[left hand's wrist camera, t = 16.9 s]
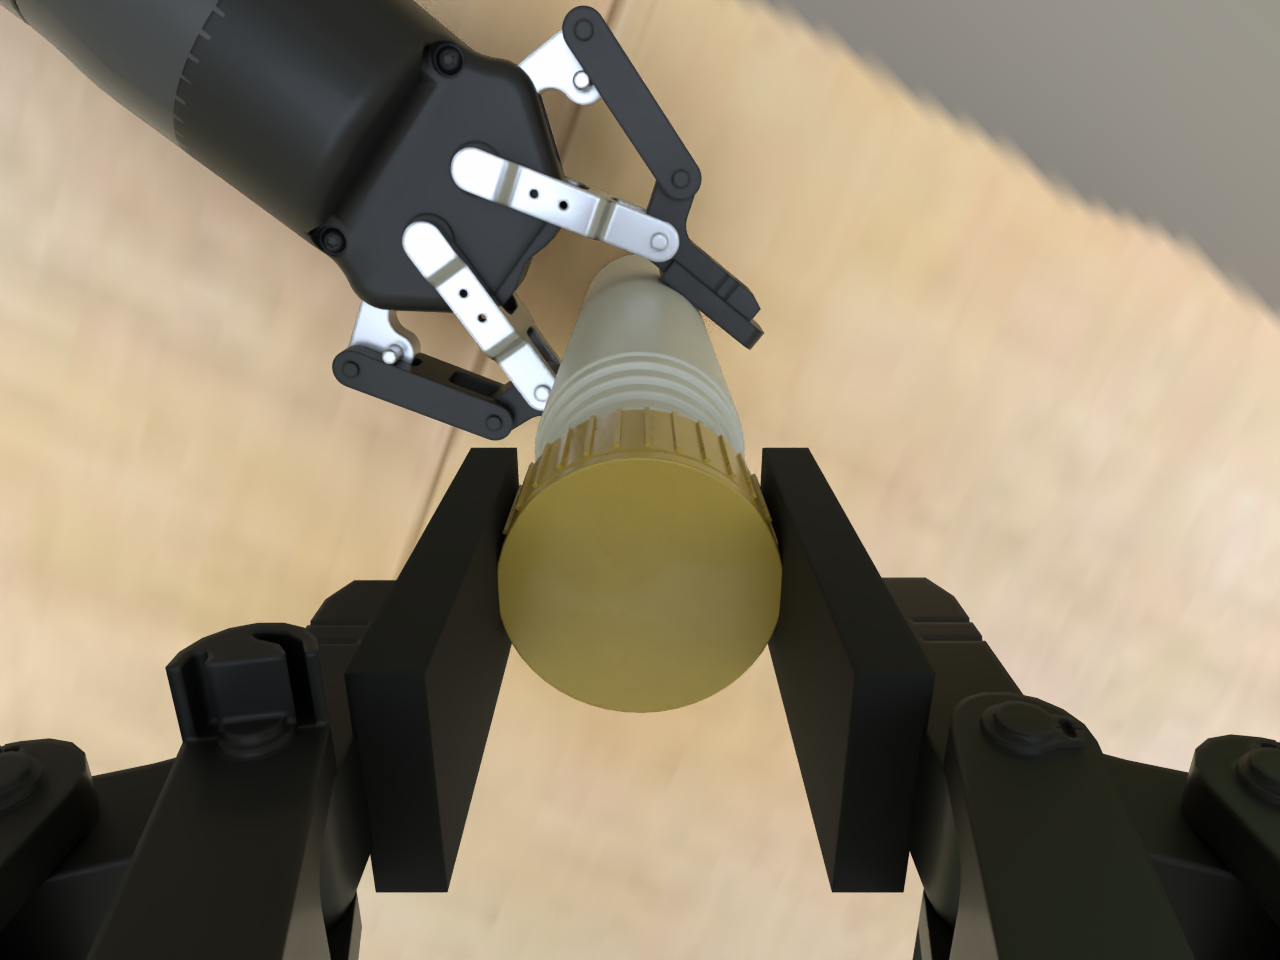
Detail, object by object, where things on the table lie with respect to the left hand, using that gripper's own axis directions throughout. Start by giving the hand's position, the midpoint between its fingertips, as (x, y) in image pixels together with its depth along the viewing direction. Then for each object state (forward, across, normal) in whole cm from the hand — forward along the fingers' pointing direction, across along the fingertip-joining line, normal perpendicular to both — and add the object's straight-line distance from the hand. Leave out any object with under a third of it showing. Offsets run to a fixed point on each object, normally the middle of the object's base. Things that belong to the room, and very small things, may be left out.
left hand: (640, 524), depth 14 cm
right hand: (+14, -2, +2) cm, 15 cm away
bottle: (+21, 0, 0) cm, 21 cm away
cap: (-2, 0, 0) cm, 2 cm away
